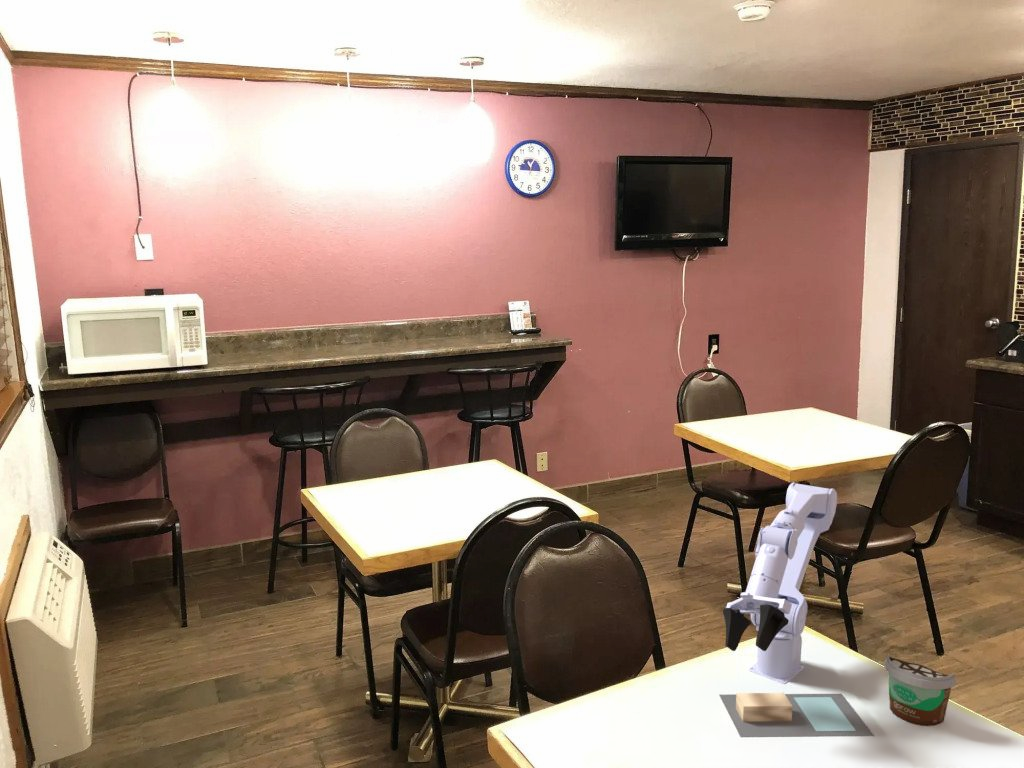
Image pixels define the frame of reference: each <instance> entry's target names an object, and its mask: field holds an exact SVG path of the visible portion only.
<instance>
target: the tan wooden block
mask: <svg viewBox="0 0 1024 768" xmlns="http://www.w3.org/2000/svg"><path fill="white" fill-rule="evenodd" d="M785 694H786V693H785V692H750V693H749V692H748V693H746V692H745V693H743V692H742V693H741V692H737V693H736V710H737V711H738V713H739V715H740V717H741V719H742V721H743V722H755V721H792V707H793V706H792V704H791V703H790V701H789V700H788V698H787V697H786V695H785Z"/></svg>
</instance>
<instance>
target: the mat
mask: <svg viewBox="0 0 1024 768" xmlns="http://www.w3.org/2000/svg"><path fill="white" fill-rule="evenodd" d="M784 694H785V695H786V697H787V698H788V700H789V701H790V703H791V704H792V706H793V707H792V721H755V722H743V721H742V719H741V717H740V715H739V713H738V711H737V710H736V694H729V693H728V694H719V697H720V700H721V702H722V703H723V705H724V708H725V710H726V711H727V713H728V715H729V717H730V719H731V721H732V723H733V725H734V727H735V729H736V730H737V733H738V735H739V737H740V738H790V737H793V738H798V737H799V738H801V737H804V738H805V737H816V738H817V737H875V734H874V733H873V731H872V730H871V729H870V728H869V727H868V725H867V724H866V723H865V722H864V721H863V719H862V718H861V717H860V715H859V714H858V713H857V711H855V708H853V706H852V705H851V704H850V703H849V701H848V700H847V699H846V697H845V696H844V695H843V693H784Z"/></svg>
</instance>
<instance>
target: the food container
mask: <svg viewBox="0 0 1024 768" xmlns="http://www.w3.org/2000/svg"><path fill="white" fill-rule="evenodd" d="M883 664H884V669H885V671H886V672H887V673H888V674H887V675H888V697H889V698H888V701H889V710H890V711H891V712H892V714H893V715H895V716H896V717H897V718H898V719H900V720H902V721H904V722H907V723H910V724H913V725H917V726H923V727H934V726H939V725H941V724H942V723H944V721H945V718H946V713H947V708H948V704H949V701H950V700H949V699H950V695H951V691H952V688H953V687H955V686H956V685H957V678H956V677H957V676H955V672H952V673H951V674H950V675H948V674H945V673H941V672H939V671H936V670H933V669H932V668H929V667H927V666H925V665H922V664H919V663H913V662H909V661H904V660H901V659H897V658H895V657H892V656H891V652H888V654H887V656H886V657H885V661H884V663H883Z"/></svg>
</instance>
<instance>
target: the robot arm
mask: <svg viewBox="0 0 1024 768" xmlns="http://www.w3.org/2000/svg"><path fill="white" fill-rule="evenodd" d="M837 504H838V494H837V491H836V489H835V488H828V487H826V488H825V487H820V486H815V485H814V486H813V485H808V484H800V483H797V482H794V481H793V482H792V483H790V484H789V485H788V488H787V490H786V496H785V507H786V508H785V509H783V510H780V512H778V514H777V515H776V516H775V518H774V519H773V521H772V522H771V524H770V525H766V526H765V527H761V529H760V530H759V533H758V537H757V543H756V544H757V545H756V549H755V553H754V556H755V560H754V564H753V566H752V570H751V574H750V577H749V580H748V583H747V585H746V589H745V591H744V592H740V597H739V598H738V599H737V598H736V599H735V600H733V601H730V602H727V605H726V607H725V608H723V610H722V614H723V618H724V622H725V642H724V643H725V647H726V648H728V649H729V650H730V651H732V652H736V650H737V648H738V647H739V644H740V641H741V639H742V637H743V635H744V633H745V631H746V630H747V628H748V627H749V626H750V625H751V624H753V625H754V626H756V627H755V628H756V631H757V633H756V637H755V638H756V639H755V646H756V647H757V660H756V663H755V664H754V665H752V666H751V667H749V668H748V671H749V672H752V673H754V674H757V675H758V676H762V677H764V678H766V679H769V680H772V681H775V682H777V683H780V684H782V685H786V684H787V683H788V682H790V681H791V680H792V679H793V678H795V677H796V676H797V675H798V674H799V673H800V672H801V671H804V669H805V666H804V665H802V664H801V662H802V661H801V659H802V645H803V638H802V634H803V632H804V629H805V626H806V619H807V613H808V602H807V599H806V597H805V596H804V595H803V594H802V593H801V592H800V590H801V586H802V584H803V579H804V577H805V574H806V570H807V568H808V566H809V563H810V559H811V556H812V553H813V551H814V548H815V545H816V543H817V540H818V538H819V537H820V534H822V533H824V532H827V531H829V530H830V526H831V525H832V523H833V520H834V517H835V515H836V512H837V511H836V509H837ZM749 614H750V620H749V618H747V617H746V616H745V615H749Z"/></svg>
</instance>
